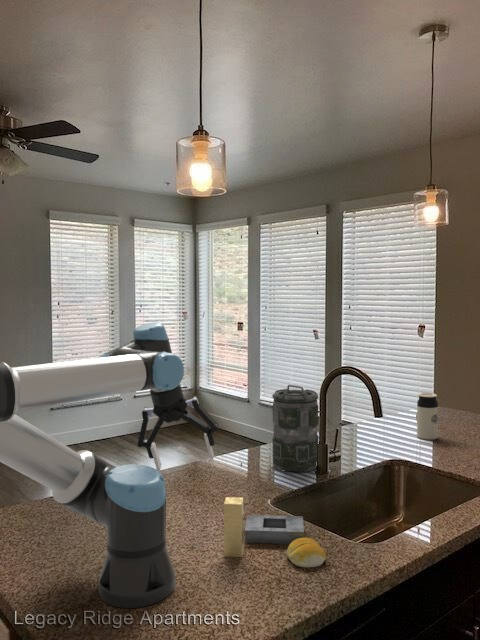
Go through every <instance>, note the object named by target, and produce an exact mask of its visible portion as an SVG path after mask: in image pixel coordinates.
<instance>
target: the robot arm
mask: <svg viewBox="0 0 480 640" xmlns="http://www.w3.org/2000/svg"><path fill="white" fill-rule="evenodd" d="M132 333H133V334H132V335H133V340H131V341H130V342H127V343H125V344H123V345H120V346H119V347H116V348H114V349H112V350H110V351H108V352H107V351H106V352H104V353H103V354H101V355H99V356H98V357H94V358H86V359H77V360H67V361H59V362H50V363H39V364H30V365H21V366H12V367H11V366H9V364H7V363H6V362H3V361H2V362H1V361H0V463H1V464H3V465H5V466H7V467H9V468H11V469H13V470H15V471H17V472H19V473H20V474H22V475H24V476H26V477H28V479H31V480H33V481H34V482H37V483H39V485H40V484H41V485H42V486H44V487H46V488H48V489H50V490H51V494H52V498H53V500H55V501H56V502H57V503H59V504H61V505H63V506H64V507H65V508H67V509H69V511H72V512H73V513H75V514H78V515H81V516H83V517H85V518H87V519H90V520H91V521H93V522H95V523H97V524H98V525H101V526H103V527H105V529H106V555H105V558H104V562H103V565H102V568H101V571H100V575H99V577H98V595H99V597H100V599H101V600H102V601H103V602H104V603H106V604H108V605H110V606H113V607H117V608H121V609H122V608H123V609H136V608H143V607H149V606H150V605H154V604H156V603H159V602H161V601H162V600H165V599H166V598H167V597H169V596H170V595H171V593H173V591H174V590H175V587H176V572H175V568H174V565H173V563H172V562H173V561H172V560H171V557H170V554H169V550H168V547H167V490H166V483H165V481H166V480H165V477H164V476H163V474H162V473H161V472H160V471H161V469H162V462H161V459H160V456H159V452H158V448H157V445H156V442H154V440H155V439H156V436H157V435H158V432H159V431H160V428H161V427H162V425H163V424H164V422H165V423H167V424H169V423H172V422H178V421H180V420H181V419H182V420H183V421H185V422H188V423H190V424H191V425H192V426H194V427H195V428H197V429H199V430H200V432H202V433H204V441H205V444H206V449H207V452H208V456H209V459H210V461H213V460H214V454H215V453H214V450H213V446H215V438H214V434H213V433H214V432H218V430H219V424H218V422H217V421H216V420H215V419H214V417H212V416H211V414H210V413H209V412H208V411H207V410H206V409H205V408H204V407H203V405H202V404H201V403H200V401H199V398H198V397H197V396H196V395H195V396H193V397H192V398H190V399H188V400H186V398H185V396H184V392H183V390H182V386H181V382H183V378H184V375H185V369H184V368H185V367H184V366H185V365H184V363H183V360H182V359H181V358H180V357H179V355H176V354H175V353H173V351H172V348H171V343H170V338H169V337H168V333H167V331H166V327H165V326H164V324H163V323H161V322H159V321H156V322H154V321H153V322H148V323H144V324H142V325H138V326H137V327H135V328H134V329H133V331H132ZM146 390H149V394H150V397H151V401H152V405H153V407H147V406H144V407H143V409H142V413H141V416H142V423H141V427H140V432H139V436H138V441H137V447H138V448H143V447H144V448H145V449H146V451H147V455H148V458H149V459H153V461H154V462H153V463H154V464H155V468H154V467H151V466H150V465H146V464H145V465H144V464H141V465H138V464H136V463H129V464H123V465H118V466H115V465H113V464H110V463H109V462H107V461H106V460H104V459H102V458H101V457H99V456H98V455H96V454H95V453H93V452H92V451H90V450H87V449H82V450H78V451H76V450H74V449H72V448H71V447H69V446H67V445H66V444H64V443H62V442H61V441H60V440H57V439H56V438H54V437H53V436H51V435H50V434H48V433H46V432H45V431H43V430H42V429H40V428H38V427H36V426H35V425H33V424H31V422H28V421H27V420H25V419H24V418H22V417H21V416H19V415H17V414H16V413H20V412H22V413H23V412H26V411H31V410H33V411H34V410H37V409H44V408H49V407H54V406H55V407H56V406H61V405H66V404H72V403H79V402H83V401H88V400H93V399H100V398H101V399H102V398H106V397H111V396H116V395H118V396H119V395H123V394H124V395H125V394H129V393H134V392H141V391H142V392H143V391H146ZM188 406H189V407H191V409H194V410H195V412H196V413H197V414H198V415H199V416H200V418H201V419H200V418H199V417H197V416H196V415H195V414H193V413H191V412H190V411H189V410H188V409H187V408H188ZM152 415H155V416H157V420H156V422H155V424H154V426H153V428H152V430H151V432H150V433H149V436H148V437H147V438H146V439H145V437H146V433H147V428H148V424H149V419H150V418H152Z"/></svg>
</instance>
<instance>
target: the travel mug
mask: <svg viewBox="0 0 480 640" xmlns="http://www.w3.org/2000/svg"><path fill="white" fill-rule="evenodd" d="M417 395H418V400H417V401H416V402H417V403H416V405H417V408H416V409H417V410H416V411H417V412H416V413H417V415H416V416H417V417H416V419H417V421H416V437H418V439H421V440H426V441H428V440H429V441H434V440H436V439H438V437H439V436H438V435H439V433H438V430H439V429H438V425H439V424H438V423H439V421H438V418H439V416H438V413H439V410H438V409H439V407H438V406H439V402H438V401H437V397H438V394H435V393H433V392H432V393H431V392H421V393H417Z"/></svg>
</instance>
